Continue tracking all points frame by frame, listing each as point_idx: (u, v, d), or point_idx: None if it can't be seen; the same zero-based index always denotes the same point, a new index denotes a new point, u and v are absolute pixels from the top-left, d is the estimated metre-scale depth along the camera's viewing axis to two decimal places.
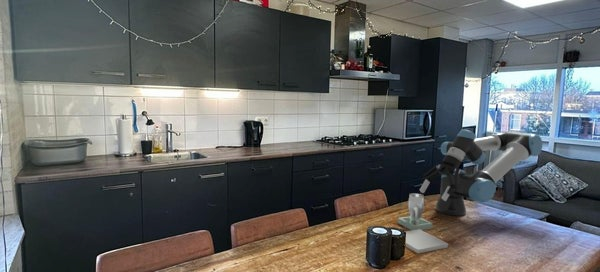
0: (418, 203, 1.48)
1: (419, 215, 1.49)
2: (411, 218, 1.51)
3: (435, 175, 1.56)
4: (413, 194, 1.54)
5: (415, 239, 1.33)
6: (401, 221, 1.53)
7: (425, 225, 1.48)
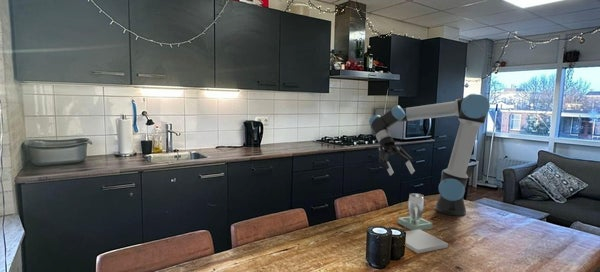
0: (418, 203, 1.48)
1: (419, 215, 1.49)
2: (411, 218, 1.51)
3: (400, 156, 1.67)
4: (413, 194, 1.54)
5: (415, 239, 1.33)
6: (401, 221, 1.53)
7: (425, 225, 1.48)
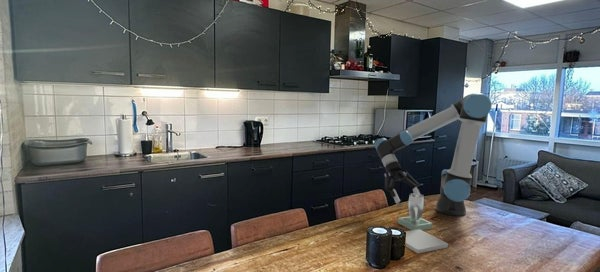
0: (418, 203, 1.48)
1: (419, 215, 1.49)
2: (411, 218, 1.51)
3: (407, 182, 1.62)
4: (413, 194, 1.54)
5: (415, 239, 1.33)
6: (401, 221, 1.53)
7: (425, 225, 1.48)
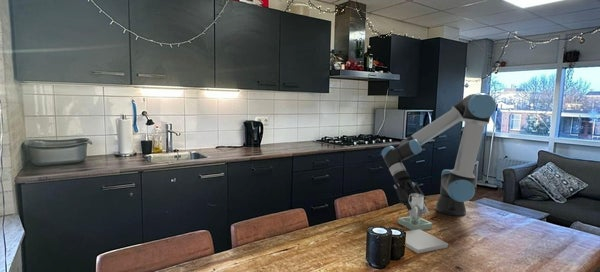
0: (418, 203, 1.48)
1: (419, 215, 1.49)
2: (411, 218, 1.51)
3: None
4: (413, 194, 1.54)
5: (415, 239, 1.33)
6: (401, 221, 1.53)
7: (425, 225, 1.48)
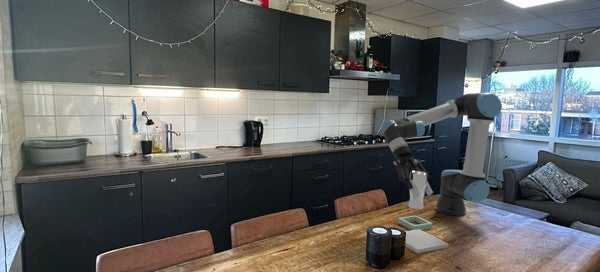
0: (420, 181, 1.31)
1: (421, 195, 1.32)
2: (412, 198, 1.34)
3: None
4: (415, 172, 1.37)
5: (415, 239, 1.33)
6: (401, 221, 1.53)
7: (425, 225, 1.48)
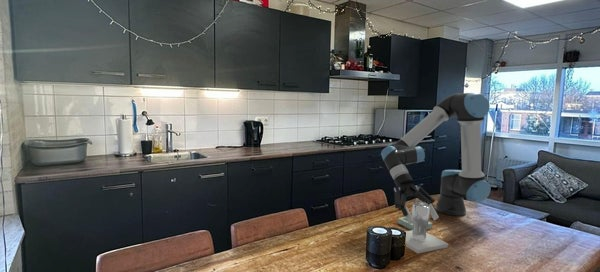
0: (423, 213, 1.30)
1: (424, 227, 1.31)
2: (415, 230, 1.33)
3: (420, 197, 1.39)
4: (417, 202, 1.36)
5: None
6: (401, 221, 1.53)
7: None
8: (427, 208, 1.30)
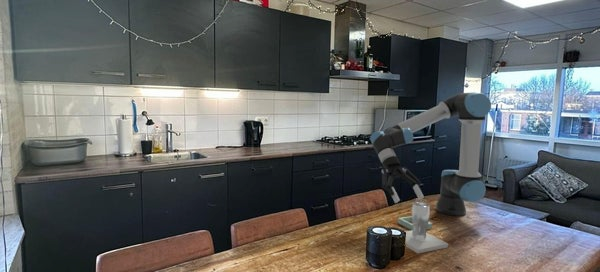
0: (423, 213, 1.30)
1: (424, 227, 1.31)
2: (415, 230, 1.33)
3: (406, 179, 1.46)
4: (417, 202, 1.36)
5: None
6: (401, 221, 1.53)
7: None
8: (427, 208, 1.30)
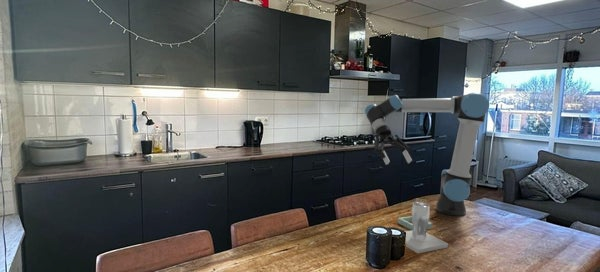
0: (423, 213, 1.30)
1: (424, 227, 1.31)
2: (415, 230, 1.33)
3: (397, 145, 1.62)
4: (417, 202, 1.36)
5: None
6: (401, 221, 1.53)
7: None
8: (427, 208, 1.30)
